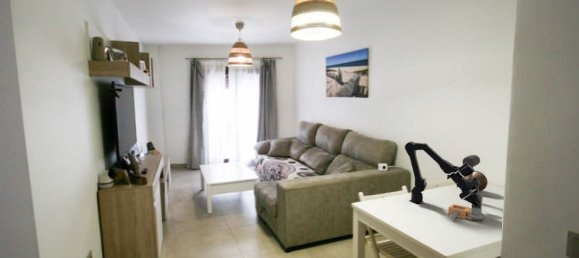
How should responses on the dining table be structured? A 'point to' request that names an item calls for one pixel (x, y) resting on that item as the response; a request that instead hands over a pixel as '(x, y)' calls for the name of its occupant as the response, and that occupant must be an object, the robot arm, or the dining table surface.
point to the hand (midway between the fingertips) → (479, 203)
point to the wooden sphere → (482, 180)
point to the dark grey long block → (478, 200)
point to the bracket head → (465, 212)
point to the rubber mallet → (471, 163)
